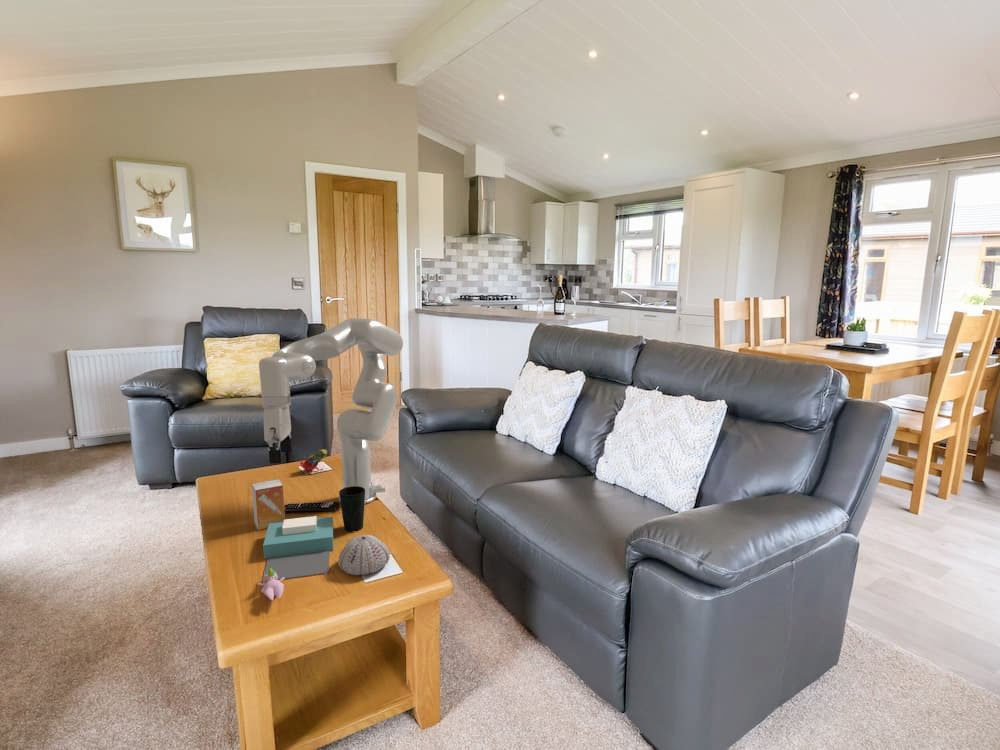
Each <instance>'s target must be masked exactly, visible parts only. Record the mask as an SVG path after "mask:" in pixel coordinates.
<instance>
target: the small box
mask: <svg viewBox="0 0 1000 750" xmlns="http://www.w3.org/2000/svg"><path fill="white" fill-rule="evenodd" d="M282 483H283V482H282V481H281V480H280V479H279V478H278V479H273V480H266V481H262V482H261V481H260V482H256V483H252V484H251V493H252V508H253V509H252V511H253V521H254V524H255V527H256V529H257V530H258V531H260V530H264V529H268V526H269V523H278V522H284V520H285V519H286V517H285V516H286V515H285V511H286V510H285V498H284V485H283V484H282Z"/></svg>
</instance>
